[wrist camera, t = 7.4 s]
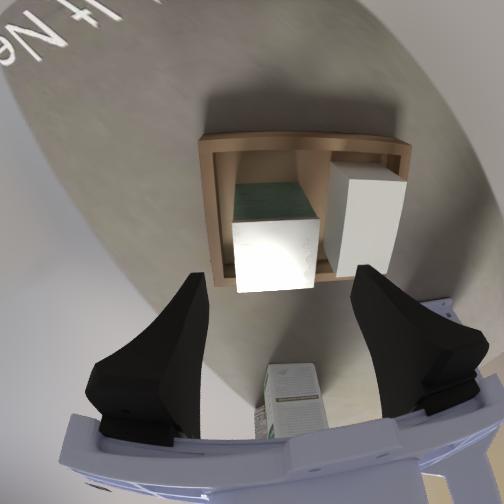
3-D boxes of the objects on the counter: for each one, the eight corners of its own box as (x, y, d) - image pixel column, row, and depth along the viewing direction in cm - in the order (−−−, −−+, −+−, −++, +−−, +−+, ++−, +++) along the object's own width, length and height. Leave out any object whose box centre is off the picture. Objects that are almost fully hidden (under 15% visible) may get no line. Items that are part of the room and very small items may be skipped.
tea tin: (298, 180, 20) (320, 219, 14) (297, 236, 22) (313, 287, 17) (234, 183, 19) (231, 223, 14) (238, 239, 22) (237, 292, 17)
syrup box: (266, 362, 32) (276, 481, 19) (316, 361, 32) (338, 473, 20) (262, 387, 35) (270, 490, 22) (306, 385, 35) (323, 484, 23)
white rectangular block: (380, 163, 19) (406, 182, 15) (367, 245, 23) (386, 273, 19) (330, 161, 19) (349, 179, 15) (322, 246, 23) (335, 277, 19)
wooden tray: (395, 137, 18) (411, 145, 16) (374, 260, 24) (385, 276, 22) (203, 134, 18) (198, 140, 16) (216, 267, 24) (214, 286, 22)
